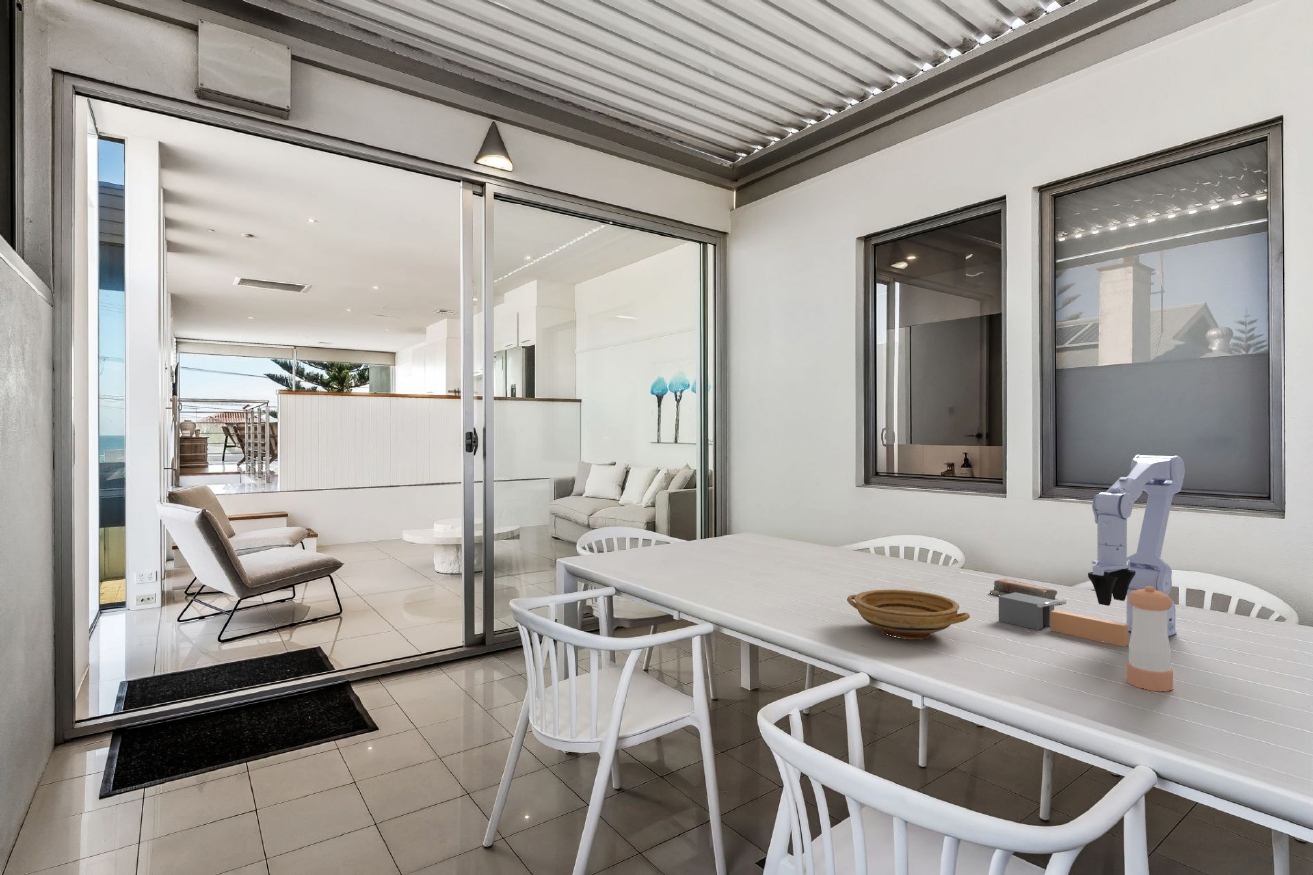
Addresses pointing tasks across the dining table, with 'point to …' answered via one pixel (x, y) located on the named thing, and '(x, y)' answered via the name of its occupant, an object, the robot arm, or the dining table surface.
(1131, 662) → the salt shaker
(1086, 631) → the orange rectangular bar
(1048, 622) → the grey plain boxy block
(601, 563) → the dining table surface
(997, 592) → the packaged product
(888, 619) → the ceramic bowl
